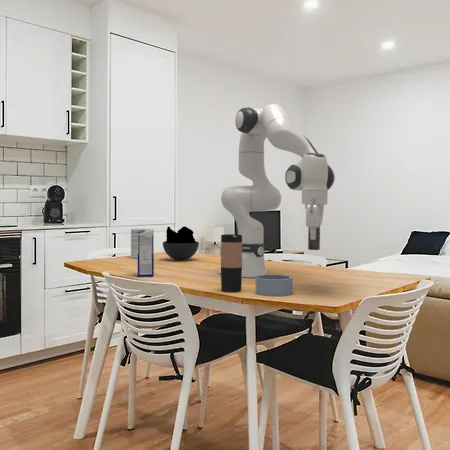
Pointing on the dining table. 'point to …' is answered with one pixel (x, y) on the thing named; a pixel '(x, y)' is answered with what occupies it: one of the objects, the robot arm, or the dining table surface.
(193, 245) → the coal bowl
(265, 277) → the cup
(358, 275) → the dining table surface
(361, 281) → the dining table surface
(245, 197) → the robot arm
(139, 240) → the milk carton
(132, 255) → the supplement box
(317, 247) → the battery cell
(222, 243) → the travel mug
